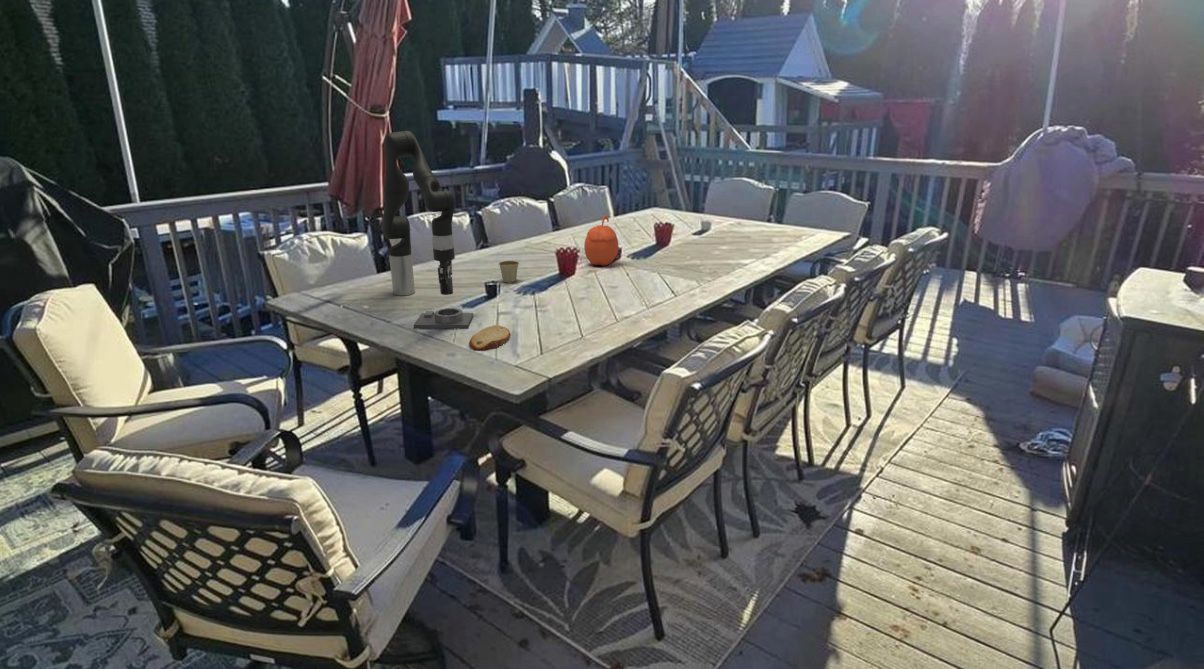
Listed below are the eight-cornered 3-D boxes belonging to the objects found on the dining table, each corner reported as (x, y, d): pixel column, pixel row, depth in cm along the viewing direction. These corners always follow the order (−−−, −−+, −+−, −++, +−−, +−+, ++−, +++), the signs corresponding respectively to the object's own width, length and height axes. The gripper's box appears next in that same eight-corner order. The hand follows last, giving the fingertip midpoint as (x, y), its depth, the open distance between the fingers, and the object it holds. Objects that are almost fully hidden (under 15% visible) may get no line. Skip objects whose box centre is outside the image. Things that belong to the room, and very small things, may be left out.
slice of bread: (503, 329, 244) (502, 319, 243) (523, 344, 230) (523, 334, 228) (457, 337, 235) (456, 327, 234) (475, 353, 221) (474, 343, 219)
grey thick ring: (438, 315, 252) (437, 307, 251) (464, 315, 252) (463, 307, 251) (433, 324, 243) (432, 315, 241) (460, 324, 243) (459, 315, 242)
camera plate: (422, 316, 255) (421, 310, 254) (473, 316, 256) (473, 310, 255) (413, 328, 242) (413, 321, 241) (467, 328, 243) (467, 321, 242)
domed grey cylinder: (442, 290, 247) (441, 274, 244) (454, 290, 247) (453, 274, 245) (439, 295, 241) (437, 279, 239) (451, 295, 241) (450, 279, 239)
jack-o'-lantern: (606, 258, 346) (607, 211, 337) (625, 265, 333) (626, 217, 324) (577, 263, 336) (577, 215, 327) (596, 270, 323) (596, 220, 314)
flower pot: (495, 280, 304) (494, 262, 301) (512, 277, 310) (511, 259, 307) (506, 285, 298) (505, 266, 295) (523, 281, 303) (523, 263, 300)
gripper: (437, 242, 244) (440, 285, 250) (428, 251, 231) (432, 296, 237) (457, 242, 244) (460, 285, 250) (450, 251, 231) (453, 296, 237)
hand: (446, 290), depth 243 cm, fingers closed on domed grey cylinder, 6 cm apart
